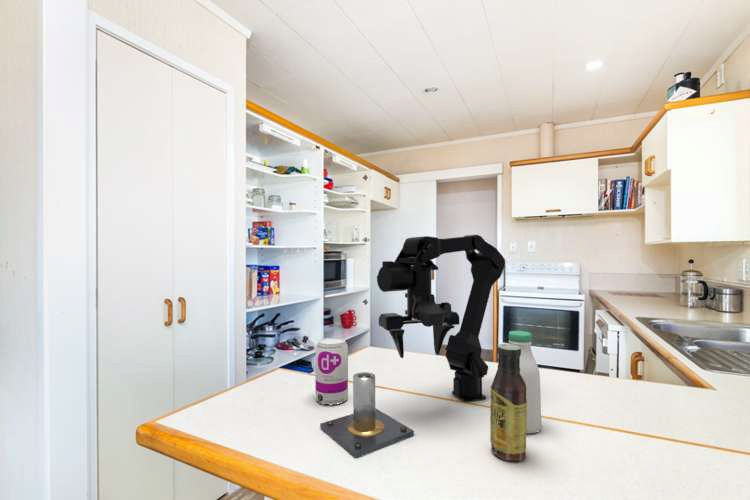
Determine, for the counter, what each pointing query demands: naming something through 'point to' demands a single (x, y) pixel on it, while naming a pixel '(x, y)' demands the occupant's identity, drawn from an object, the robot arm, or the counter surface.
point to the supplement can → (331, 370)
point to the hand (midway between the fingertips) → (419, 355)
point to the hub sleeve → (364, 402)
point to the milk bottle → (529, 378)
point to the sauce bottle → (508, 406)
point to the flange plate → (366, 434)
